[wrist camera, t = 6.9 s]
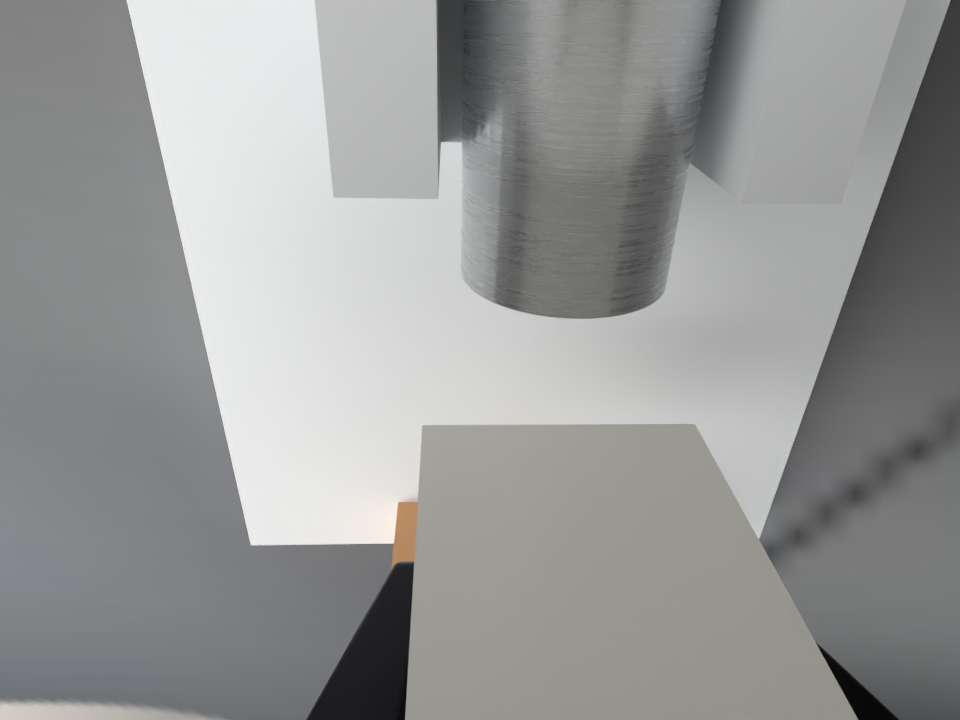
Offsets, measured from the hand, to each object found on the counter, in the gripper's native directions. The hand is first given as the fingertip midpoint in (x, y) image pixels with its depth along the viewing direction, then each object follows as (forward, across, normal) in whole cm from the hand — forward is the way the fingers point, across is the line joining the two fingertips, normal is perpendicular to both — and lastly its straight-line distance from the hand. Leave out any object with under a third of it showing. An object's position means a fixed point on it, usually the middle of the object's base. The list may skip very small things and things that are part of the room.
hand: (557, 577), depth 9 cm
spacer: (+1, 0, 0) cm, 1 cm away
